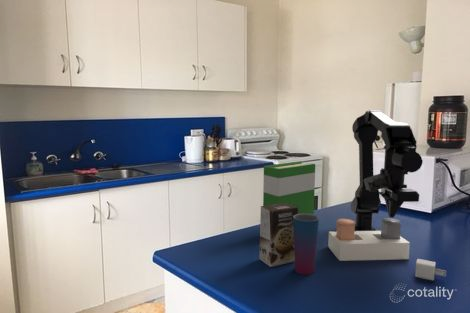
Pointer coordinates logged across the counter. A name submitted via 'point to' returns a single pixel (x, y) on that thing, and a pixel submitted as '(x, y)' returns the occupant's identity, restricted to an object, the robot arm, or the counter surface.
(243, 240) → the counter surface
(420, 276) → the usb wall charger
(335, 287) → the counter surface
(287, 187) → the hardback book
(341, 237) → the terracotta plunger
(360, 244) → the tray
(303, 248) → the cup
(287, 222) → the brown cookie box
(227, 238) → the counter surface
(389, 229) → the charcoal plunger
